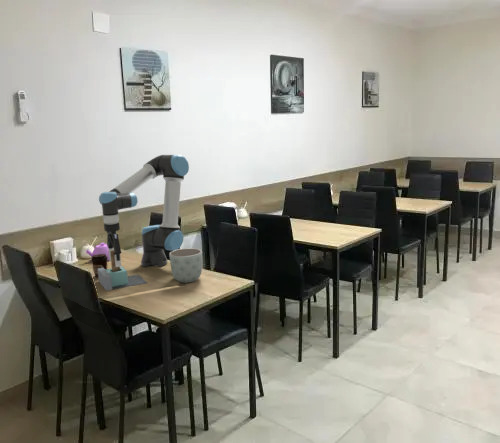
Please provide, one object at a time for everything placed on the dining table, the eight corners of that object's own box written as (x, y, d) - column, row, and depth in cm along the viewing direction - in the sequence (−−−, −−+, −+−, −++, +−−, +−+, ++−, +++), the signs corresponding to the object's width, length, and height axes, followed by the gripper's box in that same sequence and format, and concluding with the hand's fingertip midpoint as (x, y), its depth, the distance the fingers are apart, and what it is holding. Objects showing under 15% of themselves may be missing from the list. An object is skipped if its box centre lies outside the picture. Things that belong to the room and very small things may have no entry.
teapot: (82, 261, 301) (80, 244, 299) (112, 254, 314) (111, 238, 312) (91, 265, 291) (89, 248, 289) (122, 258, 304) (120, 242, 301)
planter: (209, 281, 251) (207, 252, 248) (178, 287, 243) (176, 258, 240) (195, 273, 265) (193, 246, 263) (166, 279, 257) (164, 251, 254)
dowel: (119, 275, 252) (117, 249, 249) (121, 277, 248) (119, 251, 246) (111, 277, 250) (109, 250, 247) (113, 279, 246) (111, 252, 244)
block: (123, 279, 256) (122, 266, 254) (128, 283, 248) (126, 270, 247) (106, 282, 252) (105, 269, 250) (110, 287, 244) (109, 273, 242)
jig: (138, 276, 264) (137, 262, 262) (147, 285, 248) (146, 269, 247) (98, 283, 254) (97, 268, 253) (106, 293, 239) (104, 277, 237)
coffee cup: (104, 281, 258) (102, 257, 256) (90, 280, 260) (87, 257, 258) (112, 276, 267) (109, 253, 264) (98, 275, 268) (95, 253, 266)
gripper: (98, 220, 253) (102, 259, 257) (109, 227, 231) (113, 270, 235) (113, 218, 256) (116, 257, 260) (125, 225, 235) (128, 267, 239)
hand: (115, 263), depth 248 cm, fingers open, 13 cm apart
